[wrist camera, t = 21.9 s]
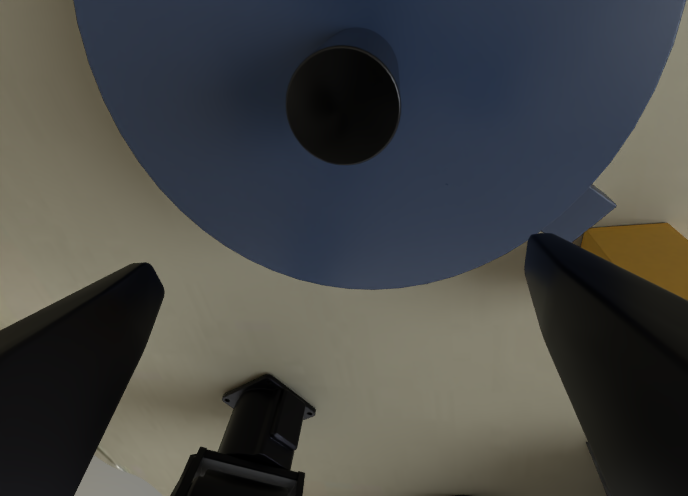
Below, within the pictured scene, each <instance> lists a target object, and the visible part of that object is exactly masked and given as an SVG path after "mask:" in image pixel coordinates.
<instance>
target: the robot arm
mask: <svg viewBox="0 0 688 496" xmlns="http://www.w3.org/2000/svg"><path fill="white" fill-rule="evenodd" d="M524 270H525V277H526V280H527V284H528V287H529V291H530V294H531V298H532V301H533V305H534V308H535V312H536V315H537V319H538V322H539V326H540V329H541V332H542V335H543V338H544V340H545V343H546V345H547V348H548V350H549V353H550V355H551V357H552V359H553V362H554V364H555V366H556V369H557V371H558V373H559V376H560V378H561V380H562V383H563V385H564V387H565V390H566V392H567V394H568V396H569V399H570V401H571V403H572V406H573V408H574V410H575V413H576V415H577V417H578V420H579V422H580V424H581V427H582V429H583V431H584V433H585V436H586V438H587V440H588V443H589V445H590V447H591V450H592V452H593V454H594V457H595V459H596V461H597V464H598V466H599V468H600V470H601V473H602V475H603V477H604V480H605V482H606V484H607V487H608V489H609V491H610V494H611V496H688V300H686V299H684V298H682V297H680V296H678V295H676V294H674V293H672V292H670V291H668V290H666V289H664V288H662V287H660V286H658V285H656V284H654V283H652V282H650V281H648V280H645V279H643V278H641V277H639V276H637V275H635V274H633V273H631V272H629V271H627V270H625V269H623V268H621V267H619V266H617V265H615V264H613V263H611V262H609V261H607V260H605V259H603V258H601V257H599V256H597V255H595V254H593V253H591V252H589V251H587V250H585V249H583V248H581V247H579V246H577V245H575V244H573V243H571V242H569V241H567V240H565V239H563V238H561V237H559V236H557V235H555V234H553V233H540V234H532V235H531V236H530V237H529V239H528V244H527V251H526V259H525V266H524ZM164 293H165V292H164V287H163V285H162V283H161V281H160V279H159V278H158V276H157V274H156V272H155V270H154V268H153V267H152V266H151V265H150V264H149V263H146V262H145V263H133V264H130V265H128V266H126V267H124V268H122V269H120V270H118V271H116V272H114V273H112V274H110V275H108V276H106V277H104V278H102V279H100V280H98V281H96V282H94V283H92V284H90V285H89V286H87V287H85V288H83V289H81V290H79V291H77V292H75V293H73V294H71V295H69V296H67V297H65V298H63V299H61V300H59V301H57V302H55V303H53V304H51V305H49V306H47V307H45V308H43V309H41V310H40V311H38V312H36V313H34V314H32V315H30V316H28V317H26V318H24V319H22V320H20V321H18V322H16V323H14V324H12V325H10V326H8V327H6V328H4V329H2V330H0V496H74V495H75V492H76V491H77V488H78V486H79V484H80V482H81V480H82V478H83V476H84V474H85V472H86V470H87V468H88V466H89V464H90V461H91V459H92V457H93V455H94V453H95V451H96V449H97V447H98V445H99V443H100V441H101V439H102V437H103V435H104V433H105V431H106V428H107V426H108V424H109V422H110V420H111V418H112V416H113V414H114V412H115V410H116V408H117V406H118V404H119V402H120V399H121V397H122V395H123V393H124V391H125V389H126V387H127V385H128V383H129V381H130V379H131V377H132V375H133V373H134V370H135V368H136V366H137V364H138V362H139V360H140V358H141V356H142V354H143V352H144V349H145V347H146V344H147V342H148V339H149V337H150V334H151V331H152V328H153V326H154V323H155V320H156V317H157V315H158V312H159V309H160V306H161V304H162V301H163V298H164ZM222 401H223V402H225V403H226V404H227V405H229V406H230V407H232V408H233V412H232V415H231V417H230V420H229V423H228V425H227V428H226V431H225V434H224V436H223V439H222V442H221V444H220V447H219V450H218V452H215V451H211V450H207V448H204V447H200V448H199V450H198V453H197V454H193V455H190V457H189V460H188V462H187V464H186V467H185V469H184V471H183V473H182V475H181V477H180V479H179V481H178V483H177V485H176V486H175V488H174V490H173V492H172V493H171V495H170V496H302V495H303V486H304V478H305V473H304V472H300V471H298V472H295V471H291V465H292V460H293V455H294V450H296V449H297V446H298V441H299V436H300V431H301V426H302V422H303V420H305V419H307V418H310V417H313V416H315V412H316V409H315V408H314V407H312V406H311V405H310V404H308V403H307V402H306V401H304V400H303V399H302V398H301V397H299V396H298V395H297V394H295V393H294V392H293V391H291V390H290V389H289V388H288V387H286V386H285V385H284V384H282V383H281V382H280V381H278V380H277V379H276V378H275V377H273V376H272V375H264V376H262V377H260V378H258V379H256V380H253V381H251V382H249V383H247V384H245V385H243V386H241V387H238V388H236V389H234V390H232V391H230V392H228V393H226V394H224V395H223V398H222Z"/></svg>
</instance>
